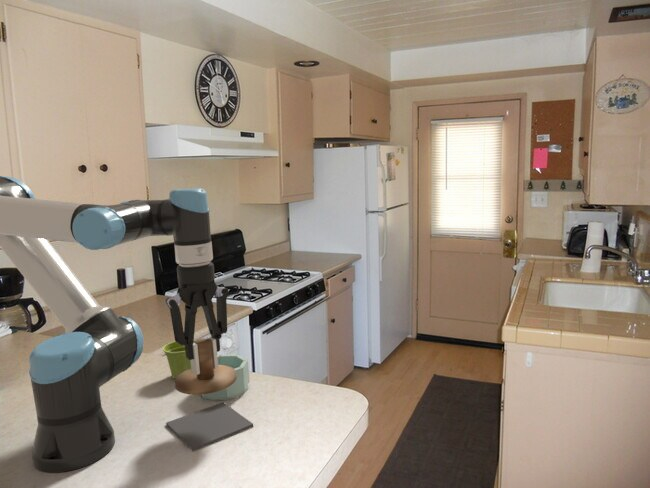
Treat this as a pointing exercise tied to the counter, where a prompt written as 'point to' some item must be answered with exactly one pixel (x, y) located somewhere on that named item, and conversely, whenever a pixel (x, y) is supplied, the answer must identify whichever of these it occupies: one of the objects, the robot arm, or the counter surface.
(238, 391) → the bowl
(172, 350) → the plant pot
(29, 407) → the counter surface
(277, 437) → the counter surface
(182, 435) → the mat
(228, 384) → the lid
